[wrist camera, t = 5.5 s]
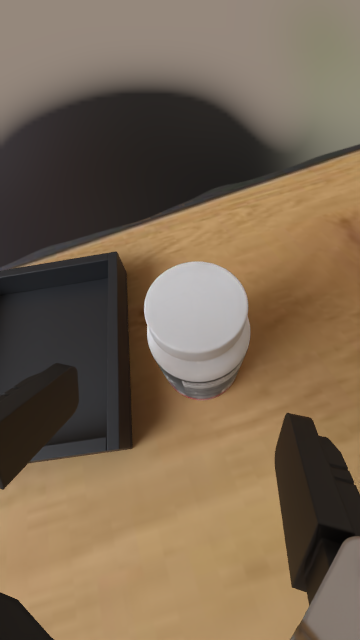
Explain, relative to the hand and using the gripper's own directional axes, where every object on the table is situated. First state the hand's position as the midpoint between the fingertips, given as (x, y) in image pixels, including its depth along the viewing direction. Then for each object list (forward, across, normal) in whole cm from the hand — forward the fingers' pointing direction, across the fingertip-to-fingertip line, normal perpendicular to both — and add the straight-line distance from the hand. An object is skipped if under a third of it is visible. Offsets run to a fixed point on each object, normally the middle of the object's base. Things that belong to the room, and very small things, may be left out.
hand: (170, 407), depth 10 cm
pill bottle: (+10, 0, +4) cm, 11 cm away
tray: (+9, +13, +5) cm, 17 cm away
